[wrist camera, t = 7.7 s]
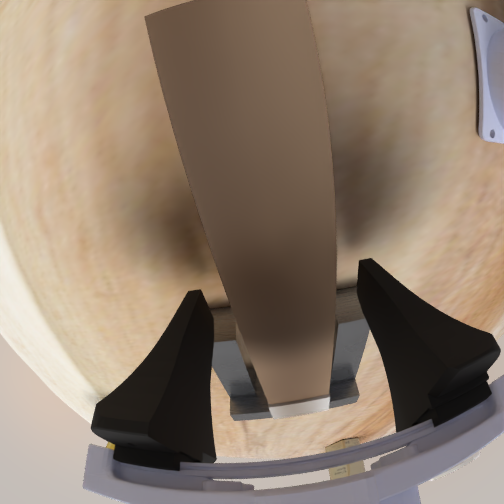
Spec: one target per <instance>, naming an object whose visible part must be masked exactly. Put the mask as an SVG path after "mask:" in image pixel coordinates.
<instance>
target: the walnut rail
mask: <svg viewBox="0 0 504 504" xmlns="http://www.w3.org/2000/svg"><path fill="white" fill-rule="evenodd" d="M145 21H146V26H147V30H148V35H149V39H150V43H151V47H152V52H153V56H154V60H155V64H156V68H157V72H158V76H159V80H160V83H161V87H162V91H163V95H164V99H165V102H166V106H167V110H168V113H169V117H170V120H171V124H172V128H173V131H174V135H175V138H176V141H177V145H178V148H179V152H180V155H181V158H182V162H183V165H184V168H185V172H186V175H187V178H188V181H189V185H190V188H191V191H192V194H193V197H194V200H195V204H196V207H197V210H198V213H199V216H200V219H201V222H202V225H203V228H204V231H205V234H206V237H207V240H208V243H209V246H210V249H211V252H212V255H213V258H214V261H215V264H216V266H217V269H218V272H219V275H220V278H221V281H222V284H223V286H224V289H225V292H226V295H227V297H228V300H229V303H230V306H231V308H232V311H233V314H234V317H235V319H236V322H237V325H238V327H239V330H240V333H241V335H242V338H243V340H244V343H245V346H246V348H247V351H248V353H249V356H250V359H251V361H252V364H253V366H254V369H255V371H256V374H257V376H258V379H259V381H260V384H261V386H262V389H263V391H264V393H265V396H266V398H267V401H268V408H269V410H270V412H271V415H272V417H273V419H280V418H287V417H294V416H300V415H306V414H311V413H316V412H321V411H326V410H328V409H329V402H330V394H329V388H330V379H331V369H332V358H333V345H334V329H335V310H336V270H337V249H336V209H335V189H334V174H333V161H332V150H331V139H330V130H329V121H328V113H327V106H326V98H325V91H324V85H323V79H322V73H321V67H320V61H319V56H318V51H317V46H316V41H315V36H314V31H313V27H312V22H311V18H310V14H309V10H308V6H307V2H306V0H194V1H190V2H187V3H183V4H180V5H176V6H173V7H170V8H167V9H164V10H161V11H158V12H155V13H153V14H150V15H147V16H145Z"/></svg>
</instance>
